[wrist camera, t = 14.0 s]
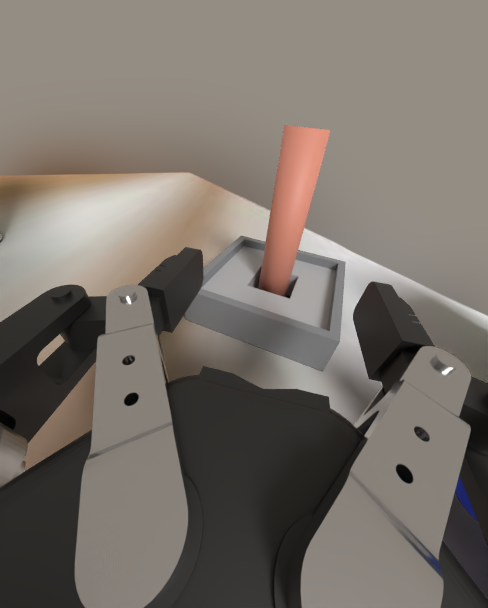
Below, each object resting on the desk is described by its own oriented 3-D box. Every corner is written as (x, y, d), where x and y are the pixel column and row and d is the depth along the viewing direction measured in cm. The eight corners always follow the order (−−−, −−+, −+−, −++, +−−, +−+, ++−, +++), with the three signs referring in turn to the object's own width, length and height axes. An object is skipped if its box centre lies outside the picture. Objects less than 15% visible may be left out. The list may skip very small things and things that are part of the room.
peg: (252, 305, 24) (279, 124, 14) (261, 290, 27) (290, 126, 16) (279, 314, 24) (328, 129, 13) (285, 298, 26) (332, 131, 16)
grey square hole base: (185, 319, 22) (181, 288, 19) (239, 261, 32) (241, 235, 29) (322, 371, 18) (339, 342, 16) (333, 288, 29) (345, 261, 26)
